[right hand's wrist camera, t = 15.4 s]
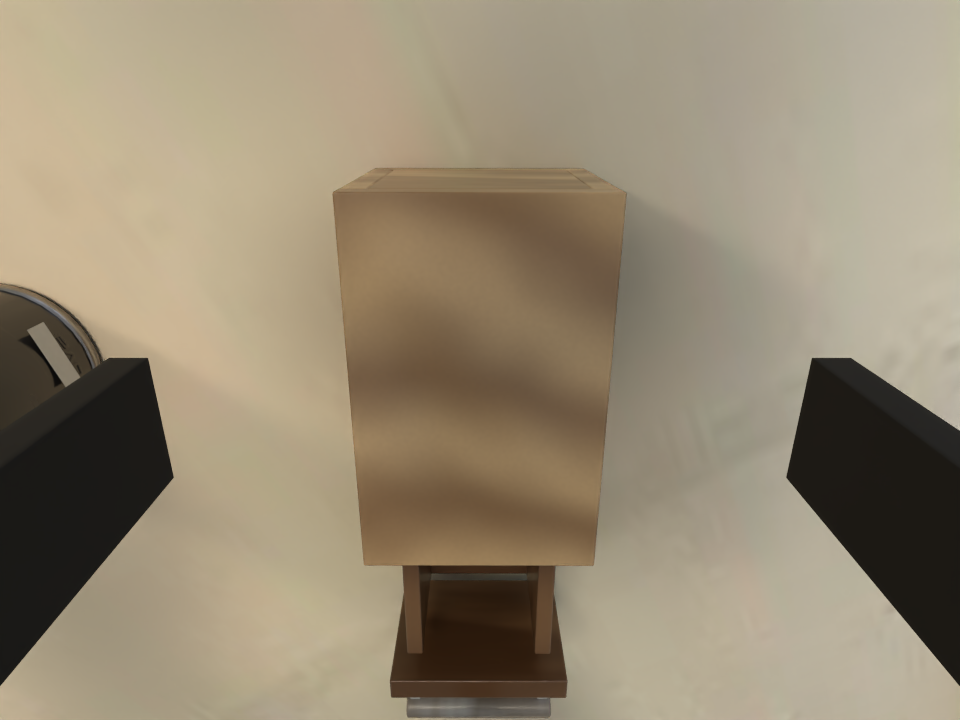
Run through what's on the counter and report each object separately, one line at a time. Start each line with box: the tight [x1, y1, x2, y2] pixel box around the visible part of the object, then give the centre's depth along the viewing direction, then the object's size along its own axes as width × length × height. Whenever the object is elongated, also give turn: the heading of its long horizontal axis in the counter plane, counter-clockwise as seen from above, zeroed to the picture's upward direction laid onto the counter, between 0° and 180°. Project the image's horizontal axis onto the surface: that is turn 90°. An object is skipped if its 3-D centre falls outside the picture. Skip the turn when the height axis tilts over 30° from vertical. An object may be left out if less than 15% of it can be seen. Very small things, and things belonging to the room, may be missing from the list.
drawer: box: [390, 565, 567, 718], centre depth 34 cm, size 21×9×7 cm, turn 0°
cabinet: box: [333, 168, 627, 566], centre depth 29 cm, size 16×10×10 cm, turn 0°
